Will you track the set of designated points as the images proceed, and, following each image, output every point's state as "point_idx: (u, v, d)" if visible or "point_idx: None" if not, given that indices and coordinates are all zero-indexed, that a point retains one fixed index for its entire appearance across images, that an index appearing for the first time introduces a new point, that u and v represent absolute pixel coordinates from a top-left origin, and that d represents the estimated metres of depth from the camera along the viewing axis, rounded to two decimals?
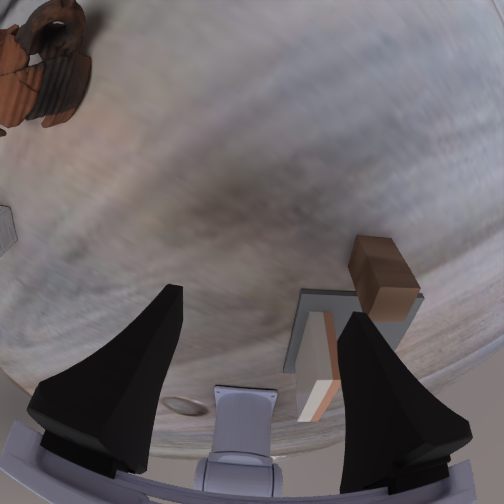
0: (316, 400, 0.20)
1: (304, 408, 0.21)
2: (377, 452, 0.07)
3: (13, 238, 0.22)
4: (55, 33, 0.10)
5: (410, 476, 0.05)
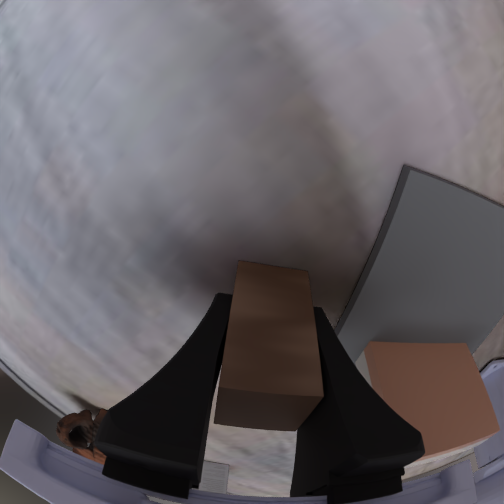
0: (434, 458, 0.09)
1: (447, 456, 0.09)
2: (318, 457, 0.07)
3: (225, 467, 0.32)
4: (79, 428, 0.22)
5: (352, 487, 0.05)
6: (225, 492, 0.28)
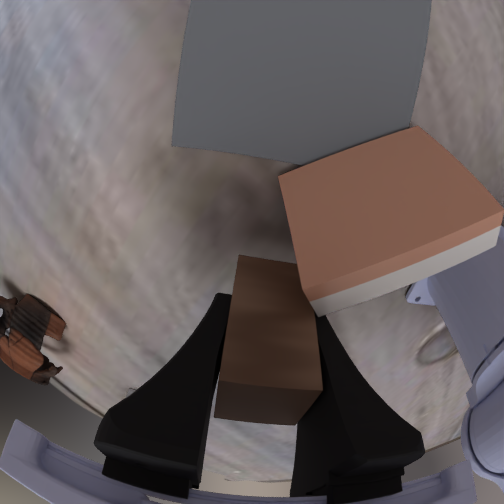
0: (400, 277, 0.09)
1: (437, 271, 0.09)
2: (318, 457, 0.07)
3: None
4: (3, 315, 0.20)
5: (352, 487, 0.05)
6: None
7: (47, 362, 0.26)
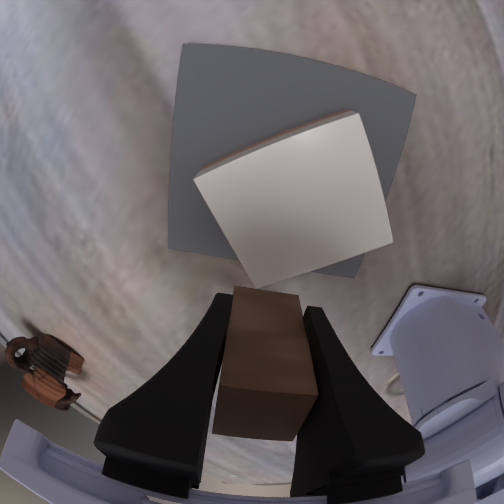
0: (259, 145, 0.12)
1: (294, 135, 0.11)
2: (318, 457, 0.07)
3: None
4: (26, 352, 0.24)
5: (352, 487, 0.05)
6: None
7: (66, 388, 0.29)
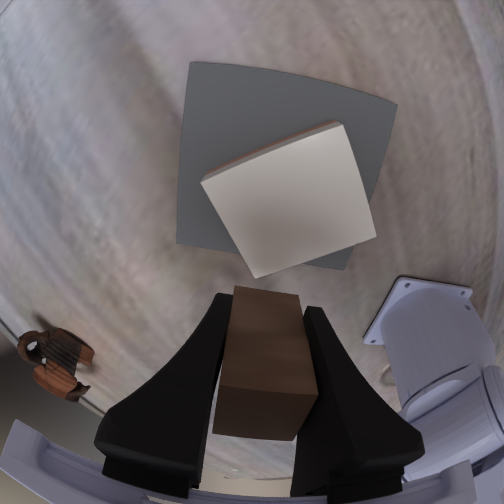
0: (257, 153, 0.15)
1: (287, 145, 0.14)
2: (318, 457, 0.07)
3: None
4: (38, 346, 0.26)
5: (352, 487, 0.05)
6: None
7: None
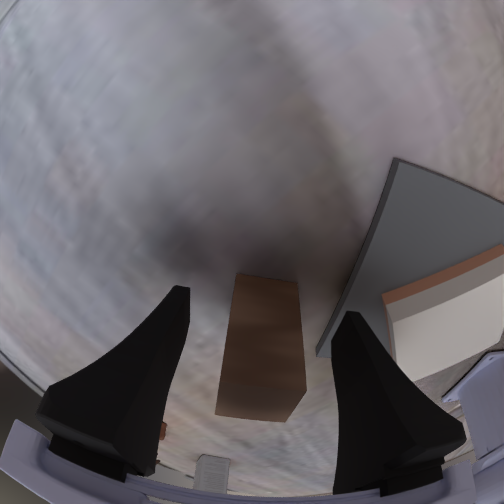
0: (447, 288, 0.11)
1: (479, 285, 0.10)
2: (369, 453, 0.07)
3: (225, 461, 0.32)
4: None
5: (402, 478, 0.05)
6: (226, 486, 0.29)
7: None
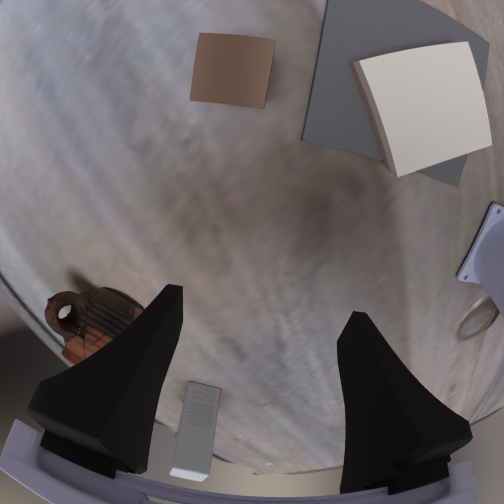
0: None
1: (431, 46, 0.10)
2: (377, 452, 0.07)
3: (215, 391, 0.32)
4: (73, 312, 0.22)
5: (410, 476, 0.05)
6: (215, 420, 0.29)
7: None
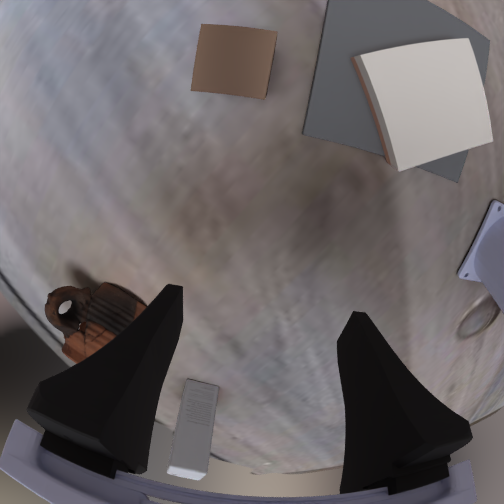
0: None
1: (432, 41, 0.10)
2: (377, 452, 0.07)
3: (214, 389, 0.32)
4: (73, 307, 0.22)
5: (410, 476, 0.05)
6: (213, 418, 0.28)
7: None
